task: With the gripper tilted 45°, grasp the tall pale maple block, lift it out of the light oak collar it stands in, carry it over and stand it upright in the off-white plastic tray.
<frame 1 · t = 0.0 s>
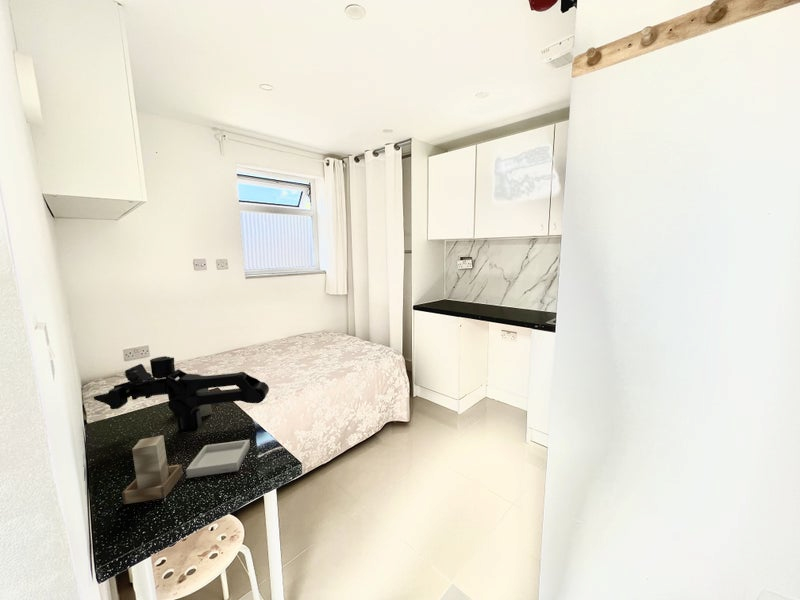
hand: (104, 392, 109), 17 cm above the table, tool horizontal, fingers open, 9 cm apart
oak collar: (155, 488, 83), on the table
skincare box: (205, 413, 127), on the table
canned food: (190, 409, 131), on the table
white tray: (221, 461, 94), on the table
maple block: (151, 465, 82), in the oak collar
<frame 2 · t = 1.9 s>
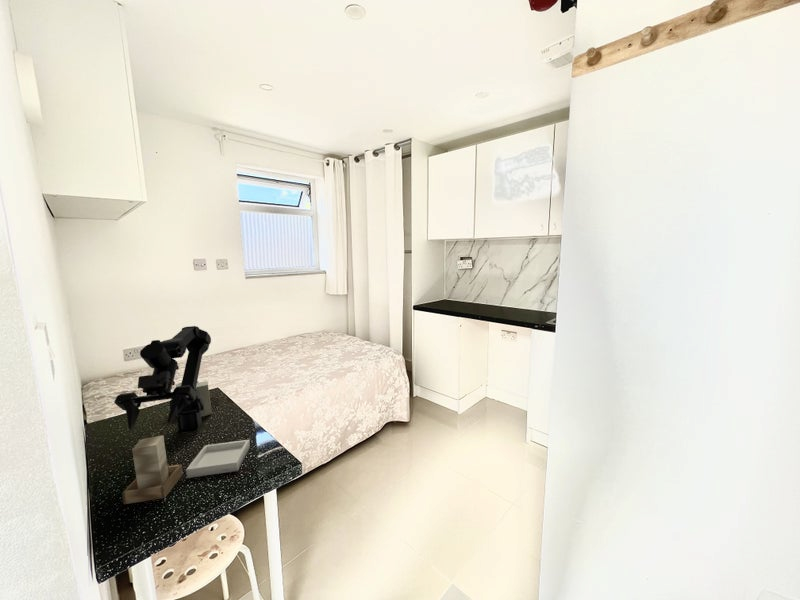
hand: (149, 426, 88), 14 cm above the table, tool tilted 45°, fingers open, 9 cm apart
nothing on the table moved.
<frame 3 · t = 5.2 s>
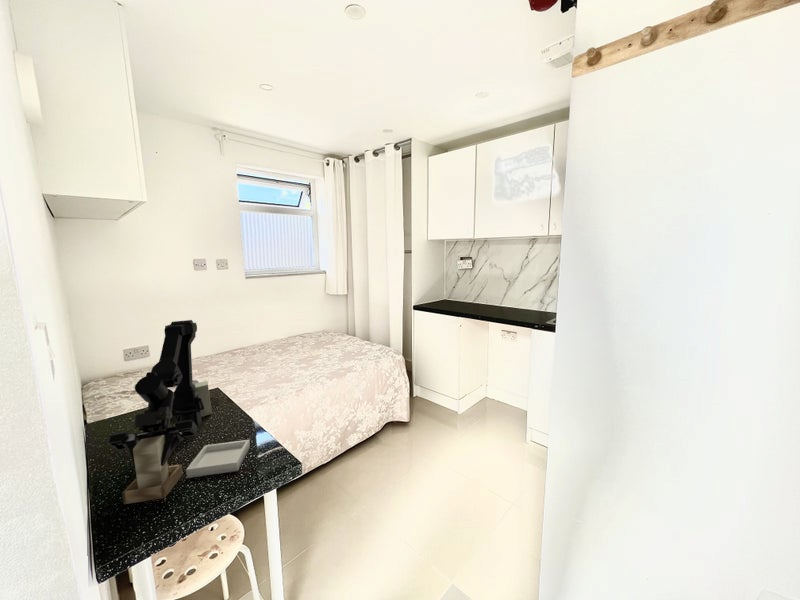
hand: (149, 468, 81), 7 cm above the table, tool tilted 45°, fingers closed on maple block, 5 cm apart
maple block: (152, 465, 82), in the oak collar, touching gripper
everything else where it was.
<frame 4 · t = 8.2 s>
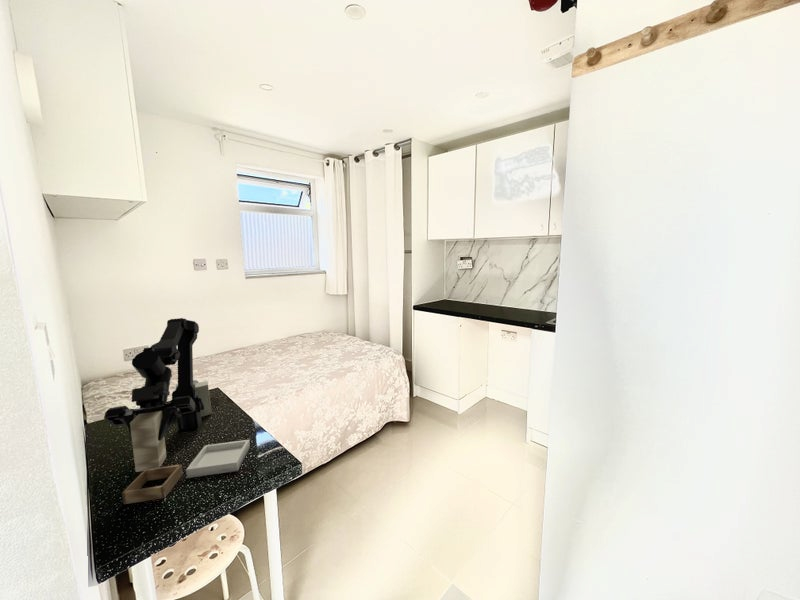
hand: (146, 442, 80), 13 cm above the table, tool tilted 45°, fingers closed on maple block, 5 cm apart
maple block: (149, 440, 82), point 13 cm above the table, touching gripper
everything else where it was.
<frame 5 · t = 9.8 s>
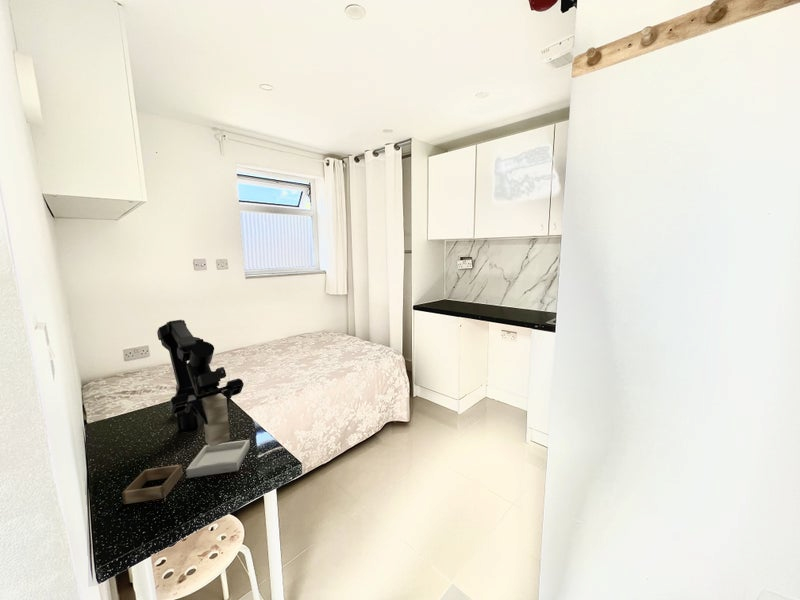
hand: (217, 420, 91), 13 cm above the table, tool tilted 45°, fingers closed on maple block, 5 cm apart
maple block: (215, 419, 92), point 13 cm above the table, touching gripper
everything else where it was.
when the fingers open (8 cm above the table, at t = 11.2 s): maple block stays where it is, resting on white tray.
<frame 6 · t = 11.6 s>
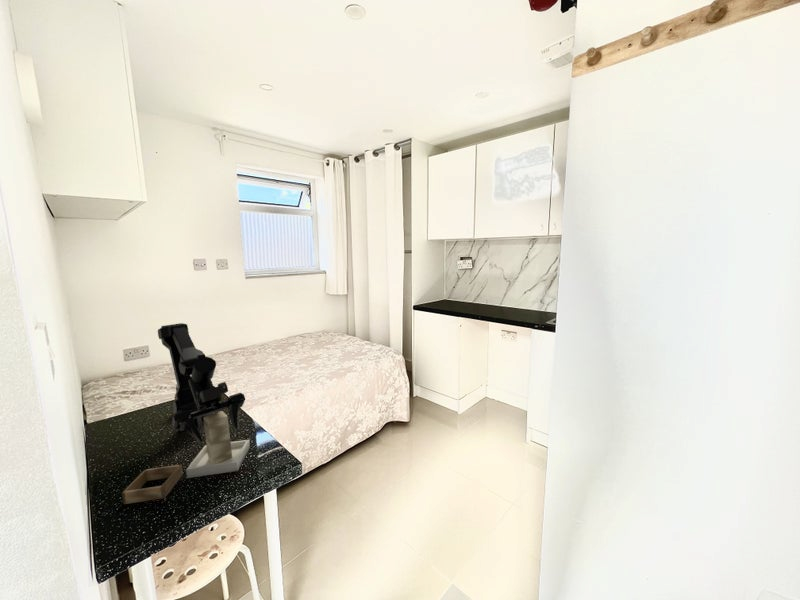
hand: (219, 435, 92), 9 cm above the table, tool tilted 45°, fingers open, 9 cm apart
maple block: (217, 437, 93), in the white tray, point 8 cm above the table
everything else where it was.
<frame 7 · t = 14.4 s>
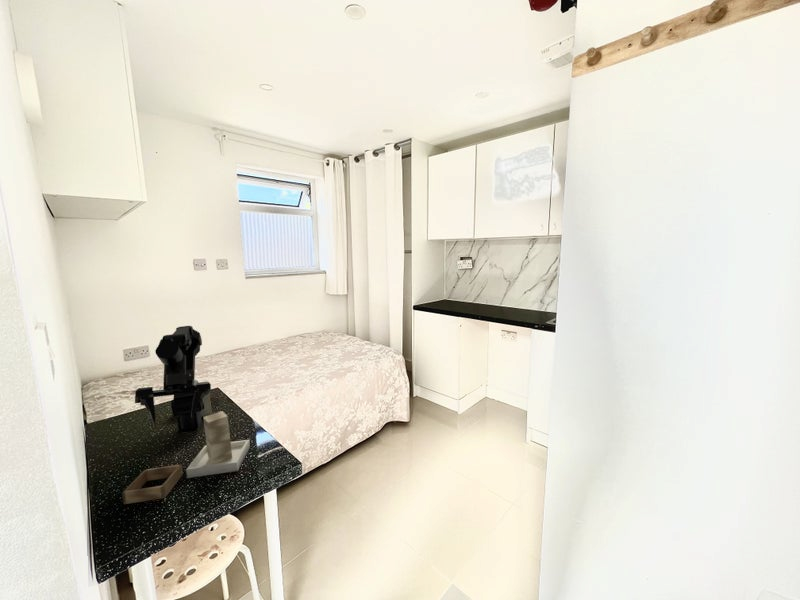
hand: (173, 420, 94), 13 cm above the table, tool tilted 35°, fingers open, 9 cm apart
nothing on the table moved.
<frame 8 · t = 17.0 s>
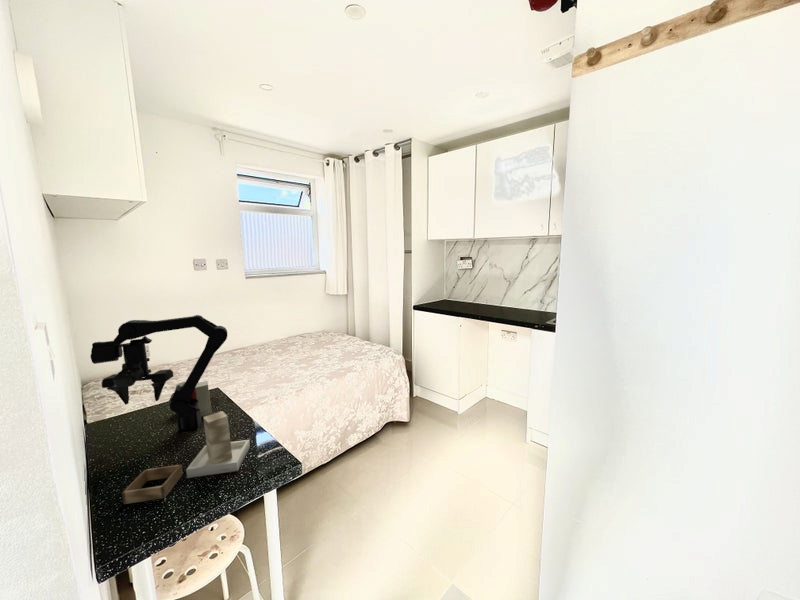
hand: (142, 402, 107), 13 cm above the table, tool pointing down, fingers open, 9 cm apart
nothing on the table moved.
at the end: maple block inside the target area on the white tray (0.1 cm from its centre), point 7.5 cm above the white tray's base; maple block tilted 0°; the gripper is holding nothing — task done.
